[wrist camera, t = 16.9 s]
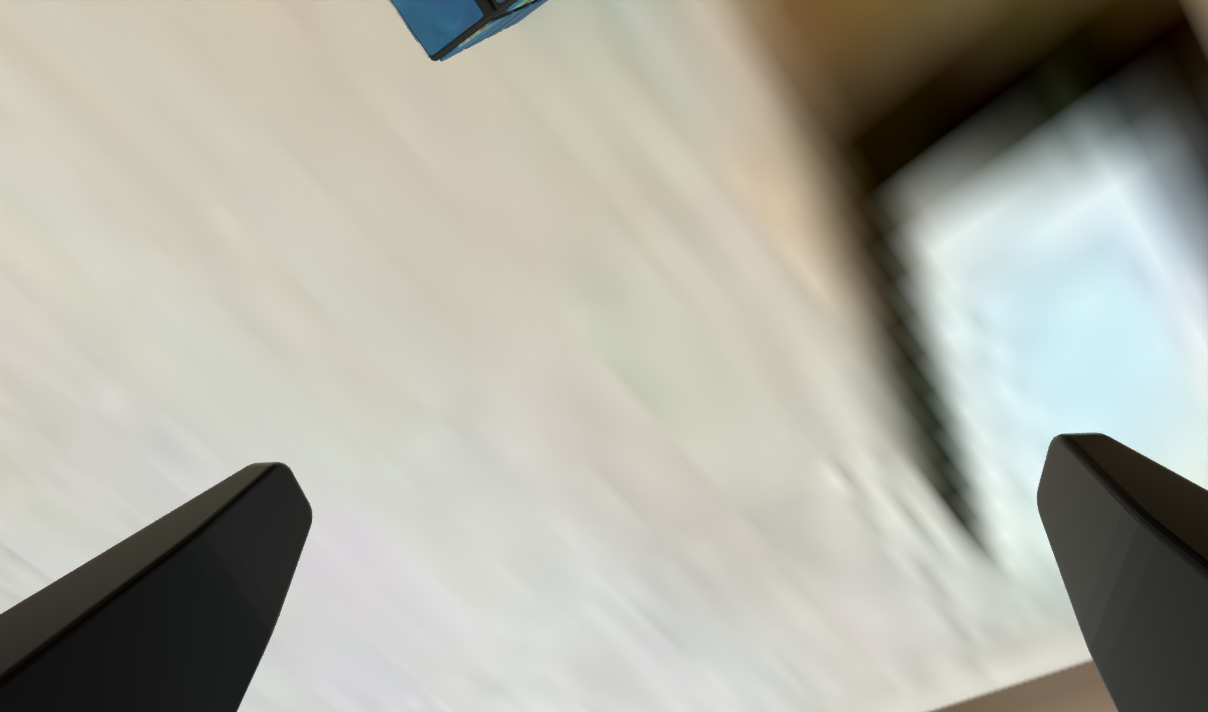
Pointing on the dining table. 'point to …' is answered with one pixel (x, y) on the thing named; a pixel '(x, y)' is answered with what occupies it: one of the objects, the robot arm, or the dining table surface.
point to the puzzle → (459, 21)
